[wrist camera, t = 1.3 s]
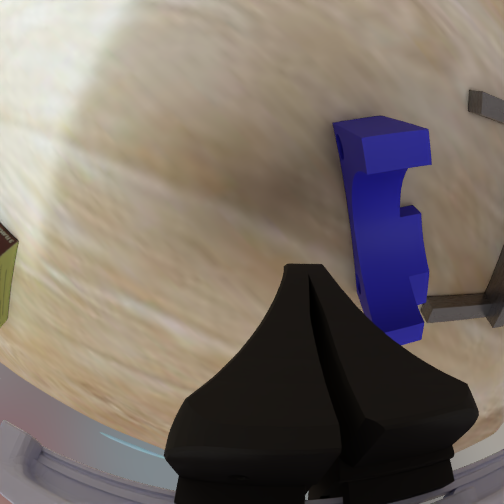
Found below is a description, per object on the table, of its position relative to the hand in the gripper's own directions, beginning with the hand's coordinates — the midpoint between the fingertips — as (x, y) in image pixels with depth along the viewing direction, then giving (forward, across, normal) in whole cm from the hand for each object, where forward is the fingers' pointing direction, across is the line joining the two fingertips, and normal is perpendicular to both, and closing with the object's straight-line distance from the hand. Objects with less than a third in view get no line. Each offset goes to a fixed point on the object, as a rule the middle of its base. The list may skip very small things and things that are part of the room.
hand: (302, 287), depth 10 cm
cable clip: (+9, -6, 0) cm, 11 cm away
